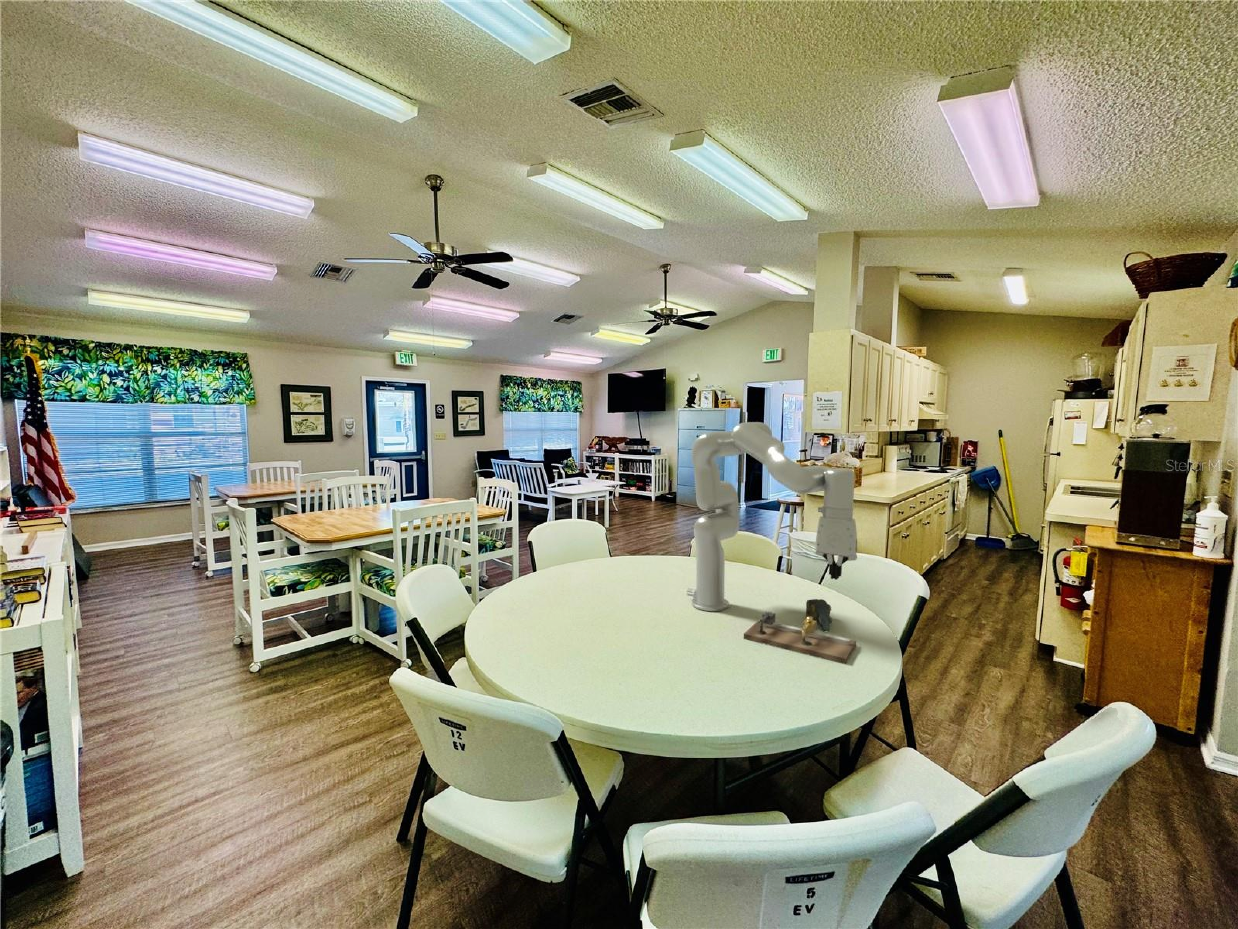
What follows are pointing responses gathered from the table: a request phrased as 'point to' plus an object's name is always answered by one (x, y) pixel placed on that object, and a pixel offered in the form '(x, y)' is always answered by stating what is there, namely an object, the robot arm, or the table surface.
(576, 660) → the table surface
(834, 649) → the plate
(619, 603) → the table surface
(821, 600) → the sculpture
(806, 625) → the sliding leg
